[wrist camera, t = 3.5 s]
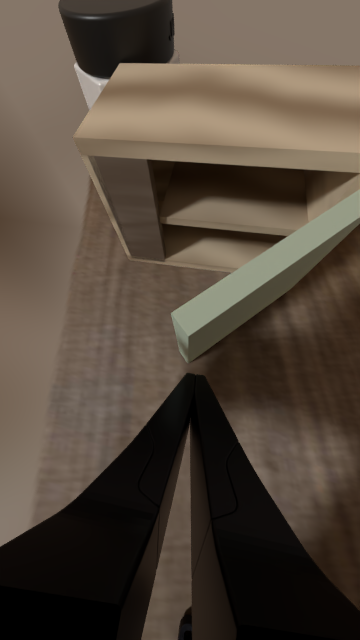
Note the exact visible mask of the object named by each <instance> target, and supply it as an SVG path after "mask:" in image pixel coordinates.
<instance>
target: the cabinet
mask: <svg viewBox="0 0 360 640" xmlns="http://www.w3.org/2000/svg"><path fill="white" fill-rule="evenodd" d="M73 139H74V141H75V144H76V146H77V148H78V150H79V152H80V154H81V157H82V159H83V161H84V163H85V165H86V167H87V169H88V172H89V174H90V176H91V178H92V180H93V183H94V185H95V187H96V189H97V191H98V193H99V196H100V198H101V200H102V202H103V204H104V206H105V209H106V211H107V213H108V215H109V217H110V219H111V222H112V224H113V226H114V228H115V230H116V232H117V235H118V237H119V239H120V241H121V243H122V245H123V248H124V250H125V252H126V254H127V256H128V258H129V260H131V261H139V262H148V263H156V264H164V265H172V266H180V267H189V268H197V269H205V270H213V271H221V272H230V273H233V272H234V271H236V270H237V269H239V268H240V267H242V266H243V265H245V264H247V263H248V262H250V261H251V260H253V259H254V258H256V257H257V256H259V255H260V254H262V253H263V252H265V251H266V250H268V249H269V248H271V247H272V246H274V245H275V244H277V243H278V242H280V241H282V240H283V239H285V238H286V237H288V236H289V235H291V234H292V233H294V232H295V231H297V230H298V229H300V228H301V227H303V226H304V225H306V224H307V223H309V222H310V221H312V220H314V219H315V218H317V217H318V216H320V215H321V214H323V213H324V212H326V211H327V210H329V209H330V208H332V207H333V206H335V205H336V204H338V203H339V202H341V201H342V200H344V199H346V198H347V197H349V196H350V195H352V194H353V193H355V192H356V191H358V190H359V189H360V66H337V65H335V66H334V65H332V66H331V65H242V64H241V65H238V64H235V65H234V64H231V65H230V64H148V63H120V64H119V65H118V67H117V68H116V70H115V71H114V73H113V75H112V76H111V78H110V79H109V81H108V82H107V84H106V86H105V87H104V89H103V90H102V92H101V93H100V95H99V97H98V98H97V100H96V101H95V103H94V104H93V106H92V108H91V109H90V111H89V112H88V114H87V116H86V117H85V119H84V120H83V122H82V123H81V125H80V127H79V128H78V130H77V131H76V133H75V134H74V136H73Z"/></svg>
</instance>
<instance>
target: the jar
mask: <svg viewBox="0 0 360 640" xmlns="http://www.w3.org/2000/svg"><path fill="white" fill-rule="evenodd" d="M59 11H60V14H61V17H62V20H63V23H64V26H65V29H66V32H67V35H68V38H69V41H70V44H71V46H72V49H73V52H74V55H75V58H76V61H77V62H76V63H75V64H74V68H75V70H76V73H77V76H78V79H79V82H80V85H81V88H82V90H83V93H84V96H85V99H86V101H87V104H88V107H89V110H90V109H91V108H92V106H93V104H94V103H95V101H96V100H97V98H98V97H99V95H100V93H101V92H102V90H103V89H104V87H105V86H106V84H107V82H108V81H109V79H110V78H111V76H112V75H113V73H114V71H115V70H116V68H117V67H118V65H119V64H120V63H148V64H180V63H179V52H178V51H177V50H175V49H174V15H173V13H172V12H173V11H172V0H60V1H59Z"/></svg>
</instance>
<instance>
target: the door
mask: <svg viewBox="0 0 360 640" xmlns="http://www.w3.org/2000/svg"><path fill="white" fill-rule="evenodd" d="M359 224H360V189H359V190H358V191H356V192H355V193H353V194H352V195H350V196H349V197H347V198H346V199H344V200H342V201H341V202H339V203H338V204H336V205H335V206H333V207H332V208H330V209H329V210H327V211H326V212H324V213H323V214H321V215H320V216H318V217H317V218H315V219H314V220H312V221H310V222H309V223H307V224H306V225H304V226H303V227H301V228H300V229H298V230H297V231H295V232H294V233H292V234H291V235H289V236H288V237H286V238H285V239H283V240H282V241H280V242H278V243H277V244H275V245H274V246H272V247H271V248H269V249H268V250H266V251H265V252H263V253H262V254H260V255H259V256H257V257H256V258H254V259H253V260H251V261H250V262H248V263H247V264H245V265H243V266H242V267H240V268H239V269H237V270H236V271H234V272H233V273H231V274H230V275H228V276H227V277H225V278H224V279H222V280H221V281H219V282H218V283H216V284H215V285H213V286H211V287H210V288H208V289H207V290H205V291H204V292H202V293H201V294H199V295H198V296H196V297H195V298H193V299H192V300H190V301H189V302H187V303H186V304H184V305H183V306H181V307H179V308H178V309H176V310H175V311H173V312H172V313H171V316H172V320H173V324H174V329H175V333H176V337H177V342H178V346H179V351H180V353H181V354H182V356H183V357H184V359H185V360H186V361H187V363H190V362H191V361H192V360H194V359H195V358H197V357H198V356H199V355H201V354H202V353H203V352H205V351H206V350H208V349H209V348H210V347H212V346H213V345H214V344H216V343H217V342H219V341H220V340H221V339H223V338H224V337H225V336H227V335H228V334H230V333H231V332H232V331H234V330H235V329H236V328H238V327H239V326H241V325H242V324H243V323H245V322H246V321H247V320H249V319H250V318H252V317H253V316H254V315H256V314H257V313H258V312H260V311H261V310H263V309H264V308H265V307H267V306H268V305H269V304H271V303H272V302H274V301H275V300H276V299H278V298H279V297H280V296H282V295H283V294H285V293H286V292H287V291H289V290H290V289H291V288H292V287H293V286H294V285H296V284H297V283H298V282H299V281H300V280H301V279H302V278H303V277H304V276H305V275H306V274H307V273H308V272H309V271H310V270H311V269H312V268H313V267H314V266H316V265H317V264H318V263H319V262H320V261H321V260H322V259H323V258H324V257H325V256H326V255H327V254H328V253H329V252H330V251H331V250H332V249H333V248H334V247H335V246H337V245H338V244H339V243H340V242H341V241H342V240H343V239H344V238H345V237H346V236H347V235H348V234H349V233H350V232H351V231H352V230H353V229H354V228H355V227H357V226H358V225H359Z"/></svg>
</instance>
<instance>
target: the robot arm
mask: <svg viewBox="0 0 360 640" xmlns="http://www.w3.org/2000/svg"><path fill="white" fill-rule="evenodd" d="M190 418H191V419H190ZM189 425H190V477H191V570H192V616H191V615H185V616H184V617H183V618H182V619H181V621H180V625H179V634H178V640H360V611H359V610H358V609H357V608H356V607H355V606H354V605H353V604H352V602H351V601H350V600H349V599H348V598H347V597H346V596H345V595H344V594H343V593H342V592H341V591H340V590H339V589H338V588H337V587H336V586H335V585H334V584H333V583H332V582H331V581H330V580H329V579H328V578H327V577H326V576H325V574H324V573H323V572H322V571H321V570H320V569H319V567H318V566H317V565H316V563H315V562H314V561H313V560H312V558H311V557H310V556H309V554H308V553H307V552H306V550H305V549H304V547H303V546H302V544H301V543H300V541H299V540H298V538H297V537H296V535H295V533H294V532H293V530H292V529H291V527H290V526H289V524H288V523H287V521H286V519H285V518H284V516H283V515H282V513H281V512H280V510H279V509H278V507H277V505H276V504H275V502H274V501H273V499H272V498H271V496H270V494H269V493H268V491H267V490H266V488H265V487H264V485H263V483H262V482H261V480H260V478H259V477H258V475H257V474H256V472H255V470H254V469H253V467H252V465H251V463H250V461H249V460H248V458H247V456H246V454H245V452H244V450H243V448H242V447H241V445H240V443H239V442H238V439H237V437H236V435H235V433H234V431H233V429H232V427H231V426H230V424H229V422H228V420H227V418H226V416H225V414H224V412H223V410H222V408H221V406H220V404H219V402H218V400H217V399H216V397H215V395H214V393H213V391H212V389H211V387H210V385H209V383H208V381H207V379H206V377H205V376H204V375H199V374H196V376H195V374H192V373H186V375H185V376H184V377H183V378H182V380H181V381H180V382H179V383H178V385H177V386H176V387H175V388H174V390H173V391H172V392H171V393H170V395H169V396H168V397H167V399H166V400H165V401H164V402H163V404H162V405H161V406H160V407H159V409H158V410H157V411H156V412H155V414H154V415H153V416H152V417H151V419H150V420H149V421H148V422H147V424H146V425H145V426H144V427H143V429H142V430H141V431H140V432H139V434H138V435H137V436H136V437H135V438H134V440H133V441H132V442H131V443H130V444H129V445H128V446H127V447H126V449H125V450H124V451H123V452H122V453H121V454H120V455H119V456H118V457H117V458H116V459H115V460H114V461H113V462H112V463H111V464H110V465H109V466H108V467H107V468H106V469H105V470H104V471H103V472H102V473H101V474H100V475H99V476H98V477H97V478H96V479H95V480H94V481H93V482H92V483H91V484H90V485H89V486H88V487H87V488H86V489H85V490H84V491H83V492H82V493H81V494H80V495H79V496H78V497H77V498H76V499H75V500H74V501H72V502H71V503H70V504H69V505H67V506H66V507H65V508H64V509H62V510H61V511H59V512H58V513H56V514H55V515H53V516H51V517H50V518H48V519H46V520H45V521H43V522H41V523H40V524H38V525H36V526H35V527H33V528H31V529H29V530H28V531H26V532H24V533H23V534H21V535H19V536H18V537H16V538H14V539H13V540H11V541H9V542H7V543H6V544H4V545H2V546H1V547H0V640H141V637H142V632H143V628H144V624H145V619H146V615H147V610H148V606H149V602H150V597H151V593H152V588H153V584H154V580H155V575H156V569H157V566H158V562H159V558H160V553H161V549H162V544H163V540H164V536H165V531H166V527H167V522H168V518H169V514H170V509H171V505H172V500H173V496H174V492H175V487H176V483H177V478H178V474H179V469H180V465H181V461H182V456H183V452H184V447H185V443H186V439H187V434H188V430H189ZM186 630H190V631H191V632H192V633H191V634H190V635H187V634H185V631H186Z"/></svg>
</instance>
